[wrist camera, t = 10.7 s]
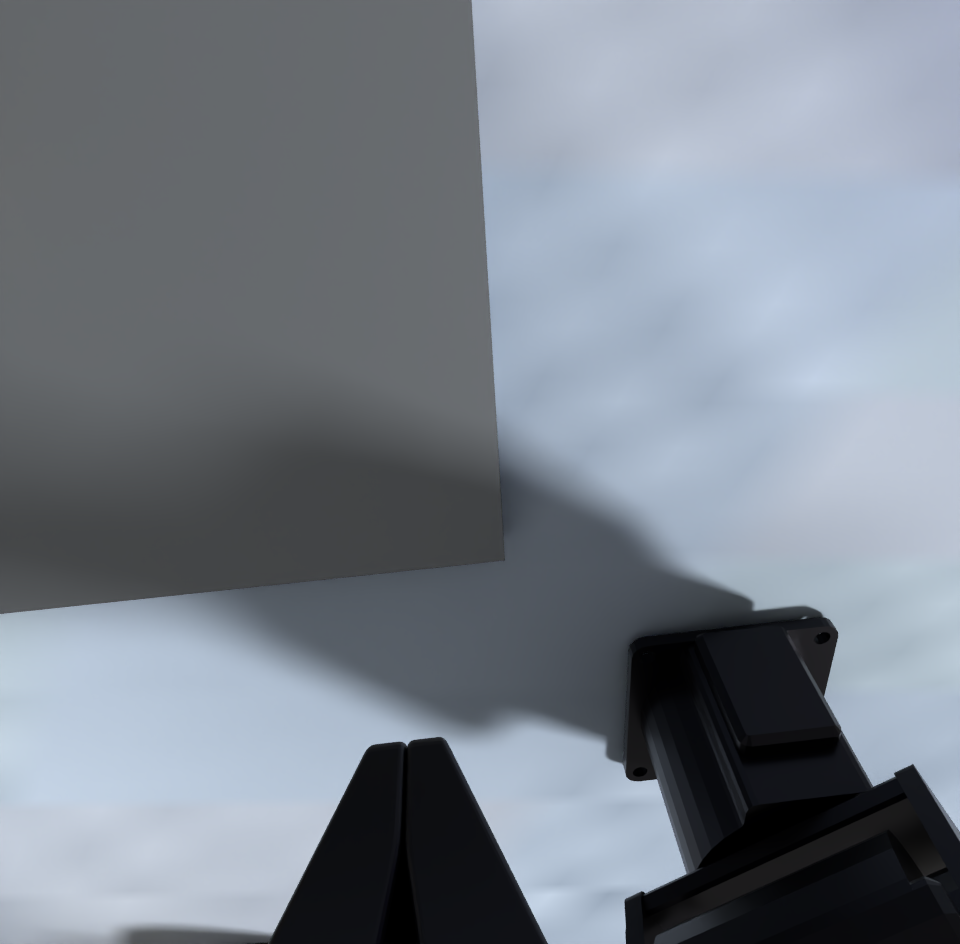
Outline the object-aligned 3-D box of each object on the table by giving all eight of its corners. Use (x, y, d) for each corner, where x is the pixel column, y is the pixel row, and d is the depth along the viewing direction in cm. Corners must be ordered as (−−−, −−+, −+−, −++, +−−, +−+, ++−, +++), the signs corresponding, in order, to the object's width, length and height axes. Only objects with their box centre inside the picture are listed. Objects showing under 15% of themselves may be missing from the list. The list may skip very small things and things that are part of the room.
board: (500, 537, 24) (504, 560, 23) (-158, 606, 23) (-178, 632, 22) (446, -334, 14) (450, -351, 13) (-712, -263, 13) (-787, -275, 12)
